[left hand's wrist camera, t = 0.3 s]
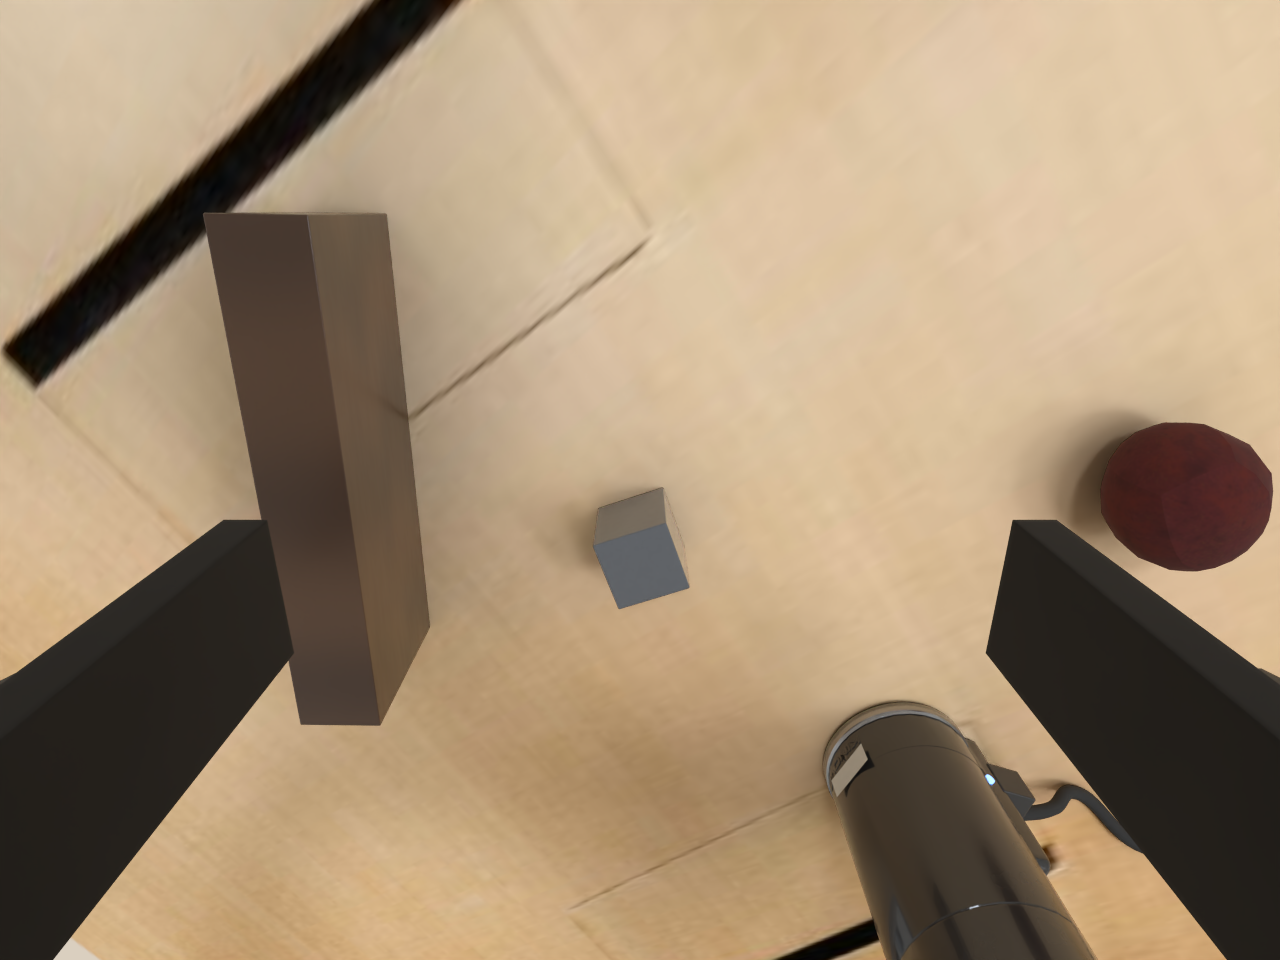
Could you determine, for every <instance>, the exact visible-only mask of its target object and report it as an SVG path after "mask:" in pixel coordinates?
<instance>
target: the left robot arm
mask: <svg viewBox="0 0 1280 960" xmlns="http://www.w3.org/2000/svg"><path fill="white" fill-rule="evenodd" d="M293 654H294V650H293V645H292V640H291V635H290V630H289V625H288V620H287V615H286V610H285V605H284V600H283V595H282V591H281V586H280V581H279V576H278V571H277V566H276V561H275V556H274V551H273V546H272V541H271V536H270V531H269V526H268V522H267V520H223V521H222V522H220V523H219V524H218V525H216V526H215V527H213V528H212V529H211V530H209V531H208V532H207V533H205V534H204V535H203V536H201V537H200V538H199V539H197V540H196V541H194V542H193V543H192V544H190V545H189V546H188V547H186V548H185V549H184V550H182V551H181V552H180V553H178V554H177V555H175V556H174V557H173V558H171V559H170V560H169V561H167V562H166V563H165V564H163V565H162V566H161V567H159V568H158V569H156V570H155V571H154V572H152V573H151V574H150V575H148V576H147V577H146V578H144V579H143V580H142V581H140V582H139V583H137V584H136V585H135V586H133V587H132V588H131V589H129V590H128V591H127V592H125V593H124V594H123V595H121V596H120V597H118V598H117V599H116V600H114V601H113V602H112V603H110V604H109V605H108V606H106V607H105V608H104V609H102V610H101V611H100V612H98V613H97V614H95V615H94V616H93V617H91V618H90V619H89V620H87V621H86V622H85V623H83V624H82V625H81V626H79V627H78V628H76V629H75V630H74V631H72V632H71V633H70V634H68V635H67V636H66V637H64V638H63V639H62V640H60V641H59V642H57V643H56V644H55V645H53V646H52V647H51V648H49V649H48V650H47V651H45V652H44V653H43V654H41V655H40V656H38V657H37V658H36V659H34V660H33V661H32V662H30V663H29V664H28V665H26V666H25V667H24V668H22V669H21V670H19V671H18V672H17V673H15V674H13V675H11V676H9V677H7V678H5V679H3V680H1V681H0V960H53V959H54V958H55V957H56V955H57V954H58V953H59V952H60V950H61V949H62V948H63V946H64V945H65V944H66V943H67V941H68V940H69V939H70V938H71V936H72V935H73V934H74V932H75V931H76V930H77V929H78V927H79V926H80V925H81V924H82V922H83V921H84V920H85V918H86V917H87V916H88V915H89V913H90V912H91V911H92V910H93V908H94V907H95V906H96V904H97V903H98V902H99V901H100V899H101V898H102V897H103V896H104V894H105V893H106V892H107V890H108V889H109V888H110V887H111V885H112V884H113V883H114V882H115V880H116V879H117V878H118V877H119V875H120V874H121V873H122V871H123V870H124V869H125V868H126V866H127V865H128V864H129V863H130V861H131V860H132V859H133V857H134V856H135V855H136V854H137V852H138V851H139V850H140V849H141V847H142V846H143V845H144V843H145V842H146V841H147V840H148V838H149V837H150V836H151V835H152V833H153V832H154V831H155V829H156V828H157V827H158V826H159V824H160V823H161V822H162V821H163V819H164V818H165V817H166V815H167V814H168V813H169V812H170V810H171V809H172V808H173V807H174V805H175V804H176V803H177V801H178V800H179V799H180V798H181V796H182V795H183V794H184V793H185V791H186V790H187V789H188V787H189V786H190V785H191V784H192V782H193V781H194V780H195V779H196V777H197V776H198V775H199V773H200V772H201V771H202V770H203V768H204V767H205V766H206V765H207V763H208V762H209V761H210V759H211V758H212V757H213V756H214V754H215V753H216V752H217V751H218V749H219V748H220V747H221V745H222V744H223V743H224V742H225V740H226V739H227V738H228V737H229V735H230V734H231V733H232V731H233V730H234V729H235V728H236V726H237V725H238V724H239V723H240V721H241V720H242V719H243V717H244V716H245V715H246V714H247V712H248V711H249V710H250V709H251V707H252V706H253V705H254V703H255V702H256V701H257V700H258V698H259V697H260V696H261V695H262V693H263V692H264V691H265V690H266V688H267V687H268V686H269V684H270V683H271V682H272V681H273V679H274V678H275V677H276V676H277V674H278V673H279V672H280V670H281V669H282V668H283V667H284V665H285V664H286V663H287V662H288V660H289V659H290V658H291V656H292V655H293ZM986 654H987V655H988V656H989V658H990V659H991V660H992V662H993V663H994V664H995V665H996V667H997V668H998V669H999V670H1000V672H1001V673H1002V674H1003V676H1004V677H1005V678H1006V679H1007V681H1008V682H1009V683H1010V684H1011V686H1012V687H1013V688H1014V690H1015V691H1016V692H1017V693H1018V695H1019V696H1020V697H1021V698H1022V700H1023V701H1024V702H1025V703H1026V705H1027V706H1028V707H1029V709H1030V710H1031V711H1032V712H1033V714H1034V715H1035V716H1036V717H1037V719H1038V720H1039V721H1040V723H1041V724H1042V725H1043V726H1044V728H1045V729H1046V730H1047V731H1048V733H1049V734H1050V735H1051V737H1052V738H1053V739H1054V740H1055V742H1056V743H1057V744H1058V745H1059V747H1060V748H1061V749H1062V751H1063V752H1064V753H1065V754H1066V756H1067V757H1068V758H1069V759H1070V761H1071V762H1072V763H1073V765H1074V766H1075V767H1076V768H1077V770H1078V771H1079V772H1080V773H1081V775H1082V776H1083V777H1084V779H1085V780H1086V781H1087V782H1088V784H1089V785H1090V786H1091V787H1092V789H1093V790H1094V791H1095V793H1096V794H1097V795H1098V796H1099V798H1100V799H1101V800H1102V801H1103V803H1104V804H1105V805H1106V807H1107V808H1108V809H1109V810H1110V812H1111V813H1112V814H1113V815H1114V817H1115V818H1116V819H1117V821H1118V822H1119V823H1120V824H1121V826H1122V827H1123V828H1124V829H1125V831H1126V832H1127V833H1128V835H1129V836H1130V837H1131V838H1132V840H1133V841H1134V842H1135V843H1136V845H1137V846H1138V847H1139V849H1140V850H1141V851H1142V852H1143V854H1144V855H1145V856H1146V857H1147V859H1148V860H1149V861H1150V863H1151V864H1152V865H1153V866H1154V868H1155V869H1156V870H1157V871H1158V873H1159V874H1160V875H1161V877H1162V878H1163V879H1164V880H1165V882H1166V883H1167V884H1168V885H1169V887H1170V888H1171V889H1172V890H1173V892H1174V893H1175V894H1176V896H1177V897H1178V898H1179V899H1180V901H1181V902H1182V903H1183V904H1184V906H1185V907H1186V908H1187V910H1188V911H1189V912H1190V913H1191V915H1192V916H1193V917H1194V918H1195V920H1196V921H1197V922H1198V924H1199V925H1200V926H1201V927H1202V929H1203V930H1204V931H1205V932H1206V934H1207V935H1208V936H1209V938H1210V939H1211V940H1212V941H1213V943H1214V944H1215V945H1216V946H1217V948H1218V949H1219V950H1220V952H1221V953H1222V954H1223V955H1224V957H1225V958H1226V959H1227V960H1280V678H1279V677H1277V676H1275V675H1273V674H1271V673H1269V672H1267V671H1265V670H1263V669H1258V668H1256V667H1255V666H1254V665H1252V664H1251V663H1250V662H1248V661H1247V660H1246V659H1244V658H1243V657H1242V656H1240V655H1239V654H1237V653H1236V652H1235V651H1233V650H1232V649H1231V648H1229V647H1228V646H1227V645H1225V644H1224V643H1223V642H1221V641H1220V640H1218V639H1217V638H1216V637H1214V636H1213V635H1212V634H1210V633H1209V632H1208V631H1206V630H1205V629H1204V628H1202V627H1201V626H1199V625H1198V624H1197V623H1195V622H1194V621H1193V620H1191V619H1190V618H1189V617H1187V616H1186V615H1185V614H1183V613H1182V612H1180V611H1179V610H1178V609H1176V608H1175V607H1174V606H1172V605H1171V604H1170V603H1168V602H1167V601H1166V600H1164V599H1163V598H1161V597H1160V596H1159V595H1157V594H1156V593H1155V592H1153V591H1152V590H1151V589H1149V588H1148V587H1147V586H1145V585H1144V584H1143V583H1141V582H1140V581H1138V580H1137V579H1136V578H1134V577H1133V576H1132V575H1130V574H1129V573H1128V572H1126V571H1125V570H1124V569H1122V568H1121V567H1119V566H1118V565H1117V564H1115V563H1114V562H1113V561H1111V560H1110V559H1109V558H1107V557H1106V556H1105V555H1103V554H1102V553H1100V552H1099V551H1098V550H1096V549H1095V548H1094V547H1092V546H1091V545H1090V544H1088V543H1087V542H1086V541H1084V540H1083V539H1081V538H1080V537H1079V536H1077V535H1076V534H1075V533H1073V532H1072V531H1071V530H1069V529H1068V528H1067V527H1065V526H1064V525H1062V524H1061V523H1060V522H1058V521H1057V520H1013V521H1012V526H1011V531H1010V536H1009V541H1008V546H1007V551H1006V556H1005V561H1004V566H1003V571H1002V576H1001V581H1000V586H999V591H998V595H997V600H996V605H995V610H994V615H993V620H992V625H991V630H990V635H989V640H988V645H987V650H986Z"/></svg>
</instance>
